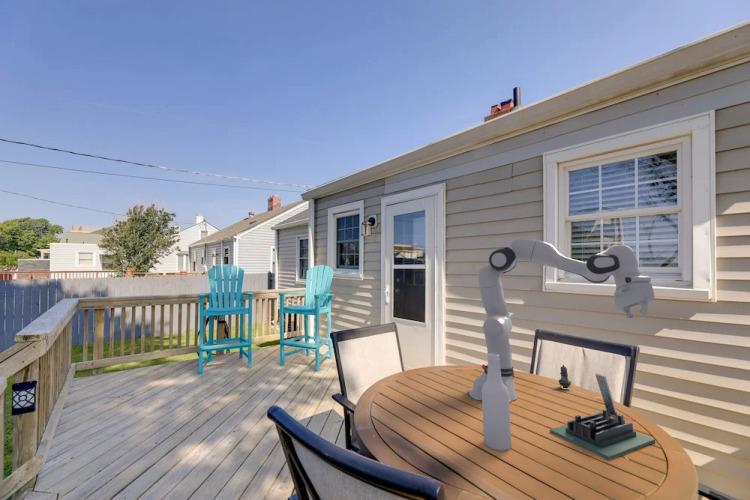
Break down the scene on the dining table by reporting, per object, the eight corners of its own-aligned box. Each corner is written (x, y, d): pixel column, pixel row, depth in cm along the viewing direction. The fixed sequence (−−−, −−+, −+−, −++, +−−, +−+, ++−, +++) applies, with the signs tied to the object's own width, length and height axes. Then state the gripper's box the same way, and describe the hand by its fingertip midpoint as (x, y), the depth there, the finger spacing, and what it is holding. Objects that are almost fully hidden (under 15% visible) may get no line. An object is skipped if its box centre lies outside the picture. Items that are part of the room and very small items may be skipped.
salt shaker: (573, 390, 158) (572, 366, 159) (561, 390, 159) (559, 365, 161) (569, 387, 164) (567, 363, 165) (556, 386, 165) (555, 363, 166)
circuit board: (594, 419, 125) (594, 416, 125) (655, 442, 107) (654, 439, 107) (550, 432, 114) (549, 429, 114) (609, 460, 96) (608, 456, 96)
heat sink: (600, 422, 120) (598, 404, 121) (636, 435, 109) (634, 416, 110) (565, 432, 112) (564, 413, 113) (601, 448, 101) (599, 427, 102)
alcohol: (500, 454, 100) (496, 358, 103) (478, 443, 107) (474, 353, 110) (517, 447, 104) (512, 355, 108) (494, 436, 112) (490, 350, 115)
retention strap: (608, 416, 116) (609, 414, 116) (617, 419, 113) (618, 417, 113) (594, 374, 115) (596, 373, 115) (603, 376, 112) (605, 375, 113)
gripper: (607, 288, 138) (614, 320, 133) (634, 276, 119) (643, 312, 115) (623, 288, 137) (631, 320, 132) (653, 275, 118) (663, 312, 113)
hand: (637, 316), depth 123 cm, fingers open, 8 cm apart
